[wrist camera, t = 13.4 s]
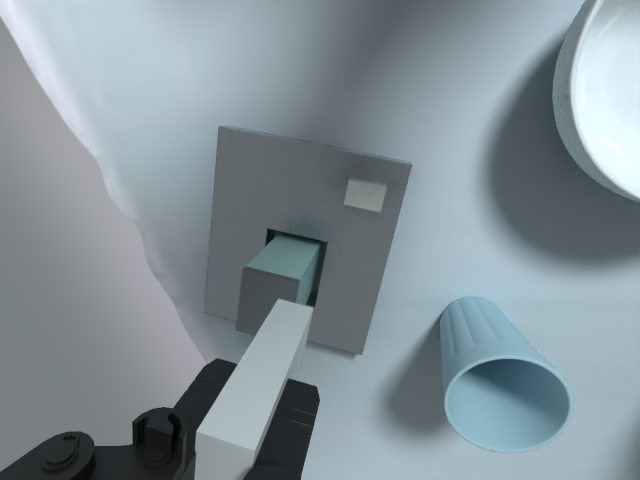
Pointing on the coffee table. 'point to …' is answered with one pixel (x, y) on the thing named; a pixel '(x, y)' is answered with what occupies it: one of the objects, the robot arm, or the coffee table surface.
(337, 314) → the socket plate
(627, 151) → the cereal bowl
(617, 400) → the coffee table surface
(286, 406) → the robot arm
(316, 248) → the plug
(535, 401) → the cup
